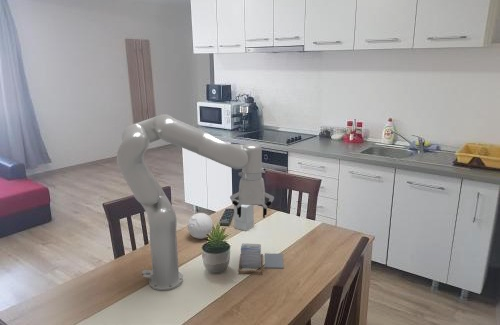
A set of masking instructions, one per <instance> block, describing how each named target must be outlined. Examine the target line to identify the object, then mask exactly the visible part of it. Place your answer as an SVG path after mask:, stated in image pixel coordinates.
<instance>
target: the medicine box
mask: <svg viewBox="0 0 500 325" xmlns="http://www.w3.org/2000/svg"><path fill="white" fill-rule="evenodd" d="M240 254H241V268H256V269H257V268H259V269H261V254H262V244H261V243H242V244H241V245H240Z"/></svg>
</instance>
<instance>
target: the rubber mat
mask: <svg viewBox="0 0 500 325" xmlns="http://www.w3.org/2000/svg"><path fill="white" fill-rule="evenodd" d="M283 257H284V256H283V253H270V252H269V253H264V269H273V270H275V269H277V270H279V269H284V268H285V267H284V258H283Z"/></svg>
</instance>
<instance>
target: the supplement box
mask: <svg viewBox="0 0 500 325" xmlns="http://www.w3.org/2000/svg"><path fill="white" fill-rule="evenodd" d="M254 213H255V212H254V205H241V217H240V218H239V215H237V208H236V206H235V205H234V204H233V214H234V215H233V216H234V219H233V221H234V229H238V230H240V231H244V232H247V231H249V230H250V229H252V228H253V227H254V224H255V223H254V221H255V220H254V219H255V217H254Z"/></svg>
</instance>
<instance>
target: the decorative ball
mask: <svg viewBox="0 0 500 325" xmlns="http://www.w3.org/2000/svg"><path fill="white" fill-rule="evenodd" d="M212 227H213V228H214V222H213V220H212V217H210V215H208V214H207V213H204V212H198V213H195V214H193V215H191V216H190V217H189V218H188V222H187V230H188V233H189V234H190V235H191V237H193V238H195V239H205V238H207V237H208V236H206V234H209V233H210V232H211V231H212V232H213V230H212ZM212 232H211V233H212ZM211 233H210V234H211Z"/></svg>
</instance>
